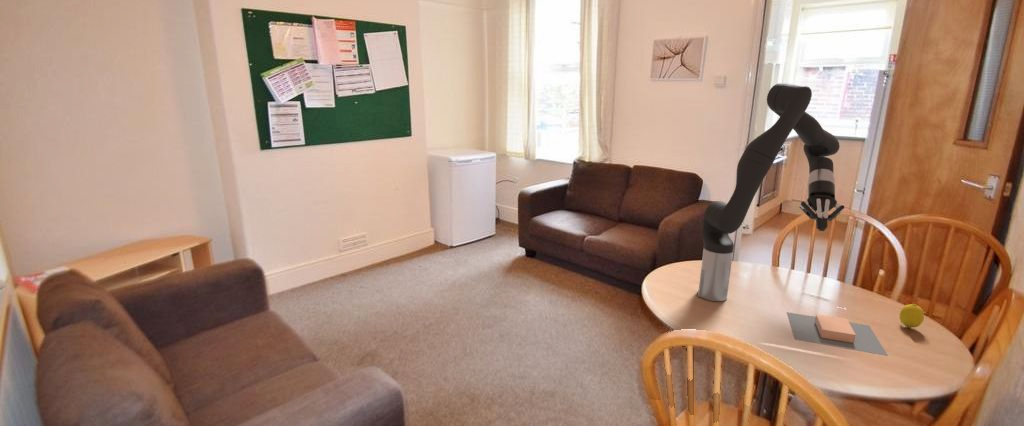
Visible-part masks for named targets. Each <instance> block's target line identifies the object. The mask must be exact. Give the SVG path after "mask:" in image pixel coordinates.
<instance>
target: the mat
mask: <svg viewBox="0 0 1024 426" xmlns="http://www.w3.org/2000/svg"><path fill="white" fill-rule="evenodd" d="M786 314H787V319H788V321H789V325H790V328H791V331H792V334H793V335H792V336H793V337H794V340H797V341H803V342H807V343H813V344H818V345H824V346H831V347H836V348H840V349H841V348H842V349H846V350H853V351H858V352H864V353H871V354H877V355H880V356H886V357H888V356H889V355H888V353H887V352H886V350H885V349H884V347H883V345H882V343H881V342H880V340H879V339H878V337H877V335H876V334H875V332H874V330H873V329H872V328H871V326H870V325H868V324H865V323H864V324H863V323H857V322H856V323H855V322H849V321H848V322H849V323H850V325H851V327H852V329H853V331H854V333H855V334H856V337H855V341H854V343H850V342H844V341H838V340H832V339H826V338H822V337H821V336H820V333H819V331H818V329H817V326H816V324H815V317H816V316H814V315H813V316H812V315H806V314H800V313H793V312H788V311H786Z"/></svg>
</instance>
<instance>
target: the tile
mask: <svg viewBox="0 0 1024 426" xmlns="http://www.w3.org/2000/svg"><path fill="white" fill-rule="evenodd" d="M814 317H815V324H816V326H817V329H818V331H819V333H820V336H821V337H822V338H826V339H832V340H838V341H844V342H850V343H854V341H855V337H856V334H855V333H854V331H853V329H852V327H851V325H850V323H849V319H847V318H843V317H835V316H829V315H824V314H817V313H816V314H815V316H814Z"/></svg>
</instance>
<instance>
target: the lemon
mask: <svg viewBox="0 0 1024 426" xmlns="http://www.w3.org/2000/svg"><path fill="white" fill-rule="evenodd" d="M924 319H925V314H924V310H923V309H922V307H920V306H919V305H917V304H916V303H911V304H910V303H908V304H906V305H904V306H903V307H902V308H901V309H900V312H899V321H900V322H901V324H903V325H904V326H905V327H907V329H912V328H917V327H919V326H921V324H923V322H924Z"/></svg>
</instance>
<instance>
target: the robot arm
mask: <svg viewBox="0 0 1024 426" xmlns="http://www.w3.org/2000/svg"><path fill="white" fill-rule="evenodd" d="M812 97H813V92H812V89H811V87H809V86H807V85H803V84H795V83H788V82H779V83H776V84H774V85H773V86H772V87H771V88H770V89H769V90H768V93H767V95H766V103H767V106H768V108H769V109H770V110H771V111H773V112H774V113H775V114H776V115H777V116H779V117H778V119H777V121H776V122H775V123H774V124H773V125H772V126H770V127H769V128H768V129H767V130H765V131H763V133H761V134H760V135H758V136H757V137H756V138H754V139H753V140H752V141H750V142H749V143H748V145H747V146H746V147H745V149H744V151H743V153H742V155H741V156H740V159H739V160H738V163H737V166H736V176H735V177H736V180H735V181H736V182H735V187H734V191H733V193H732V194H731V197H730V199H729V200H728V202H724V201H722V200H716V201H712V202H711V203H709V204H708V205H707V207H706V208H705V211H704V214H703V218H702V219H703V220H702V242H703V249H702V250H703V251H702V260H701V267H700V276H699V283H698V284H699V285H698V293H697V297H698V298H702V299H704V300H707V301H712V302H723V301H724V302H725V301H726V300H727V298H728V292H729V285H730V278H731V273H732V271H731V270H732V264H733V256H734V255H733V254H734V247H735V244H734V242H733V240H732V239H731V238H730V235H729V234H733V233H735V232H736V231H737V230H739V229H740V227H741V226H742V224H743V223H744V220H745V219H746V216H747V213H748V211H749V209H750V207H751V204H752V202H753V200H754V198H755V196H756V194H757V192H758V190H759V189H760V186H761V184H762V182H763V181H764V179H765V177H766V175H767V174H768V172H769V171H770V169H771V168H772V166H773V164H774V162H775V161H776V159H777V157H778V154H779V153H780V150H781V149H782V147H783V145H784V144H785V142H786V140H787V138H788V137H789V135H790V134H791V133H792V131H793V130H794V132H795V133H796V134H797V135H798V137H799V139H800V140H801V142H803V144H804V145H803V151H804V152H803V153H804V155H805V157H806V159H807V162H808V167H809V169H808V173H809V175H808V182H807V186H808V187H807V188H808V190H807V191H808V192H807V193H808V194H807V195H808V197H807V198H806V199H807V200H806V201H801V203H800V204H799V208H800V209H801V211H803V213H804V214H805V215H806V216H807V217H808V218H809V219H810V220H814V221H815V228H816V230H818V232H825V230H826V229H827V228H828V221H829V222H831V221H833V220H834V219H835V218H836V217H837V216H839V215H840V214H841V213H842V212H843V210H844V209H845V205H842V204H841V205H840V204H838V201H837V199H836V184H835V183H836V182H835V176H834V161H833V160H832V159H831V158H830V157H831V156H833V155H836V154H837V153H838V152H839V150H840V147H841V145H840V142H839V140H838V138H837V137H836V136H835V135H833V133H831V132H829V131H827V130H825V129H823V127H822V125H821V123H820V122H819V120H817V119H816V118H815V117H814V116H813V115H811V114H809V113H808V112H806V110H807V109H808V107H809V105H810V102H811V100H812ZM829 156H830V157H829ZM833 209H834V211H833V212H832V213H830V212H831V211H832V210H833ZM829 213H830V214H829Z"/></svg>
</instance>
